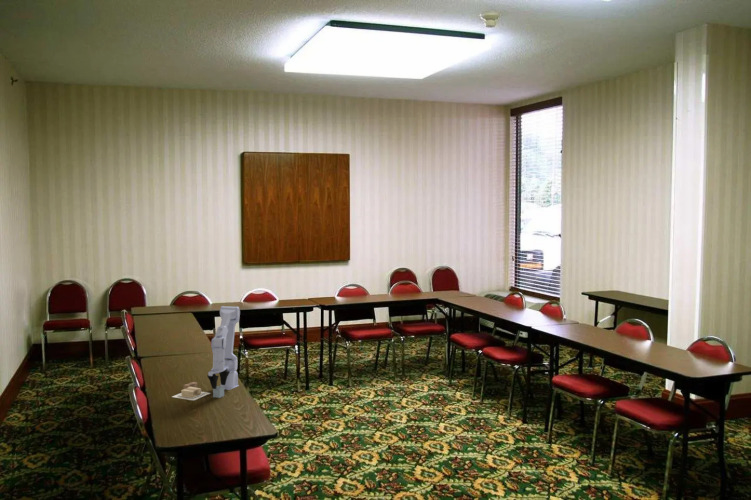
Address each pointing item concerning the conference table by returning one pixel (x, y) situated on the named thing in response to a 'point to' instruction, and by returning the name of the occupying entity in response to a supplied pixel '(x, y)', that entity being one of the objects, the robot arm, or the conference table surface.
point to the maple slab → (191, 392)
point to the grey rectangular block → (218, 392)
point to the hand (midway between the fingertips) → (218, 386)
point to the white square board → (191, 397)
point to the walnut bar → (190, 385)
